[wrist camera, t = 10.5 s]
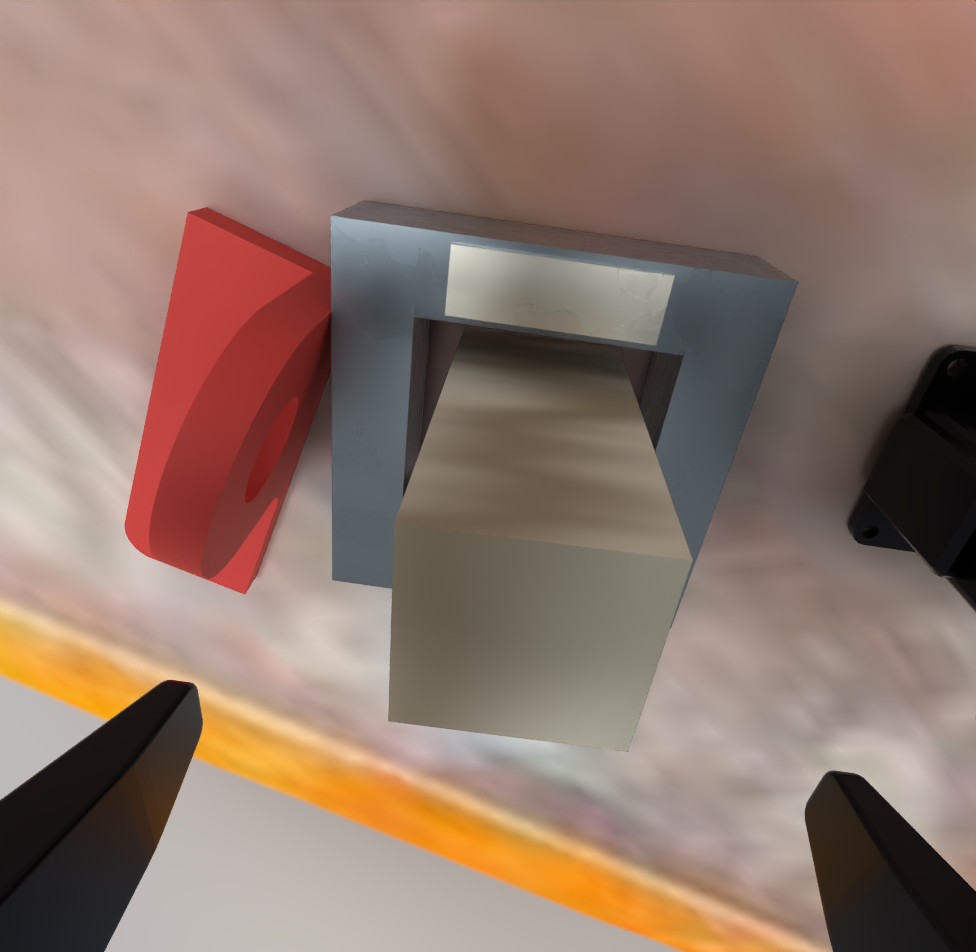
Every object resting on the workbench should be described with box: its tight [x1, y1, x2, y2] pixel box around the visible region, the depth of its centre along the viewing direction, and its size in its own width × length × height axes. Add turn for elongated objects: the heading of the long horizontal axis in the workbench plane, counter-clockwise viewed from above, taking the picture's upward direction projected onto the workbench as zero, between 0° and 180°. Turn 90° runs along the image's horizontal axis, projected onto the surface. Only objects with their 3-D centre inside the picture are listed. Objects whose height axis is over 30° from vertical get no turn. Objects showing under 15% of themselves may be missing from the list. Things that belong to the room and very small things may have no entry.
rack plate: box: [331, 201, 798, 628], centre depth 18 cm, size 10×10×3 cm
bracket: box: [125, 207, 331, 594], centre depth 17 cm, size 12×4×8 cm, turn 155°
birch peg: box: [388, 329, 693, 752], centre depth 15 cm, size 4×4×10 cm
